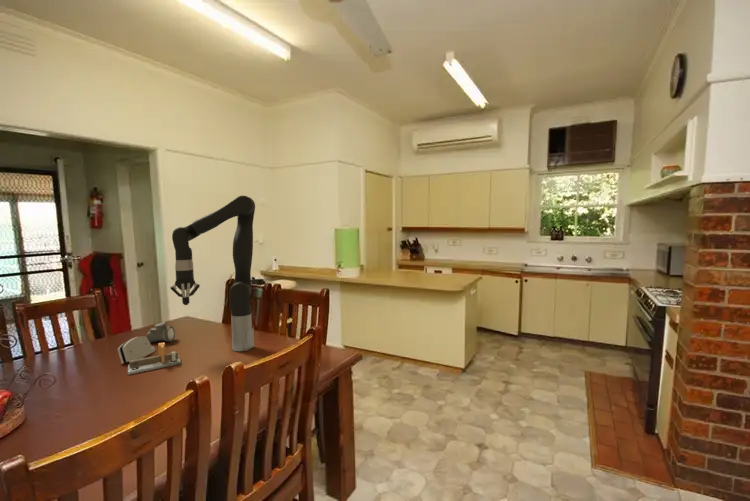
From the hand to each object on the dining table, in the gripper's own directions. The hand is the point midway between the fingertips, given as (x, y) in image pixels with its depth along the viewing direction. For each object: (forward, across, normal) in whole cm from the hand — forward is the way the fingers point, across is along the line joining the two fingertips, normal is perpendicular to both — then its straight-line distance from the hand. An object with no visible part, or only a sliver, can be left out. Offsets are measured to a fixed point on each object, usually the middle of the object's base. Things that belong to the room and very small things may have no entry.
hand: (186, 304), depth 166 cm
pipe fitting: (+23, -10, +26) cm, 36 cm away
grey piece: (+23, -14, -11) cm, 29 cm away
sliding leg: (+21, -11, -11) cm, 26 cm away
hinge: (+23, -20, +6) cm, 32 cm away
